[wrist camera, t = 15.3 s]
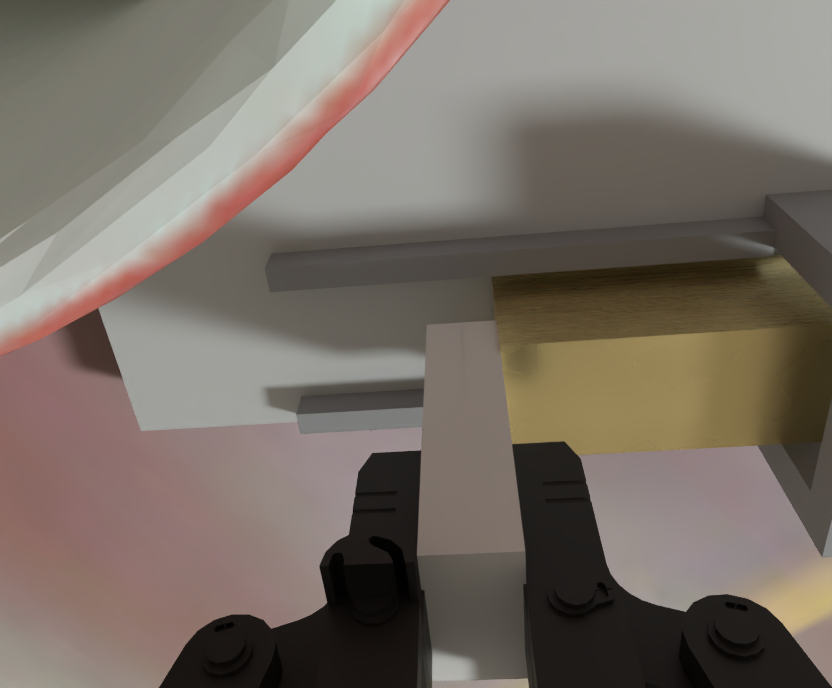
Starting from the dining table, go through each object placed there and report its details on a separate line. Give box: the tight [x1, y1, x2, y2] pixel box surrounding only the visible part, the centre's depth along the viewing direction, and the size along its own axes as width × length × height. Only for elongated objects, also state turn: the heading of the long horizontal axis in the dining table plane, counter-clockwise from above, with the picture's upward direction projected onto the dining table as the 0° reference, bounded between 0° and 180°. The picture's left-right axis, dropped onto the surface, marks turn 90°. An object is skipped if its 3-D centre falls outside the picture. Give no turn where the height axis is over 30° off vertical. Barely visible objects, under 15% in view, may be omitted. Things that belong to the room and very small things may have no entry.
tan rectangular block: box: [491, 254, 832, 455], centre depth 16 cm, size 7×3×3 cm, turn 96°
